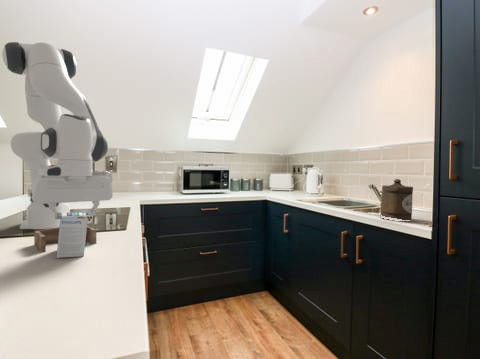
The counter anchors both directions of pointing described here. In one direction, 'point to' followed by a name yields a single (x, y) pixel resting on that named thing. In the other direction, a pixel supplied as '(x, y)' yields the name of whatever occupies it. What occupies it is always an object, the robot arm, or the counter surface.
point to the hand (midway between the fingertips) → (75, 217)
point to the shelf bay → (52, 237)
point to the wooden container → (397, 201)
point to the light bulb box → (72, 235)
